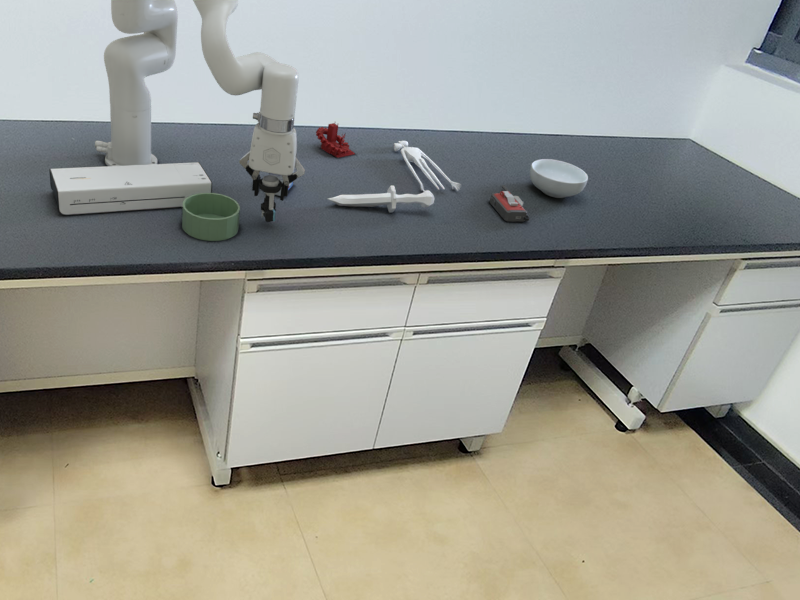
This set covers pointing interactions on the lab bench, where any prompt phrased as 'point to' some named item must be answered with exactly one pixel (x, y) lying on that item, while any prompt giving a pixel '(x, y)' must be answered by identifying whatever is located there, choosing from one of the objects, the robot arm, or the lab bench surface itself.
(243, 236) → the lab bench surface
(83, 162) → the lab bench surface
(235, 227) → the green round bowl
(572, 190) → the cereal bowl
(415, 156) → the alien
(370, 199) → the dagger
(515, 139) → the lab bench surface
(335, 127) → the diorama
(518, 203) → the walkie-talkie
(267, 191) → the push button
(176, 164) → the laminator
